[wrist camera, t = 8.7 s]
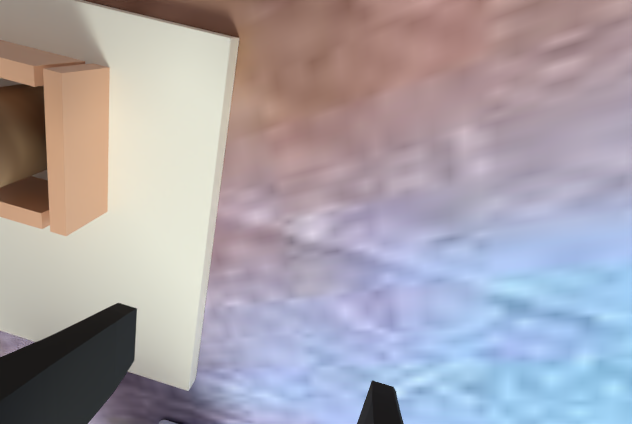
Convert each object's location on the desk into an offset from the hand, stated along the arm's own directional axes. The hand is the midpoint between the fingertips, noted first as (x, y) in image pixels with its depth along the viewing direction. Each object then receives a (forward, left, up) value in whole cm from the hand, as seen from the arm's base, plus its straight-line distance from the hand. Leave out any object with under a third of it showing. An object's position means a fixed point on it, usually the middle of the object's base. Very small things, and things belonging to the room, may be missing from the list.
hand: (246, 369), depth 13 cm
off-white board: (-2, +12, -10) cm, 16 cm away
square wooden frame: (+2, +14, -10) cm, 17 cm away
